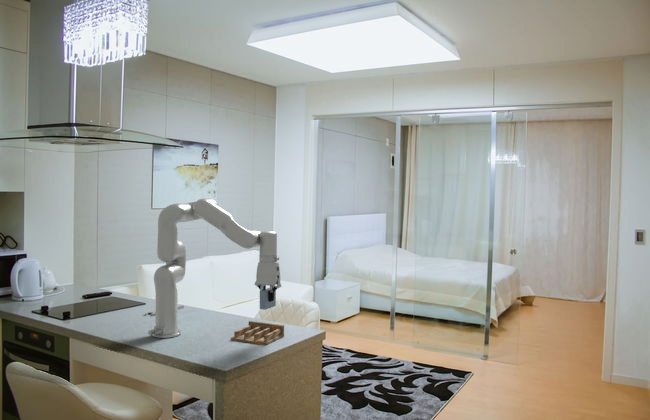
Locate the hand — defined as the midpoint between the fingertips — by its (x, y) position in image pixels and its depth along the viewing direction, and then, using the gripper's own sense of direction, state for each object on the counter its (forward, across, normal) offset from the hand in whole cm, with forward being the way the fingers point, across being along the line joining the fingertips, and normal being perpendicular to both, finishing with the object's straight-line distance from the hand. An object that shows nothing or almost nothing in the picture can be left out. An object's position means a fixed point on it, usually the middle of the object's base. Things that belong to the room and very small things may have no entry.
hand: (267, 300), depth 226 cm
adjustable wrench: (+18, +76, -24) cm, 81 cm away
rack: (+17, +5, 0) cm, 18 cm away
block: (+3, 0, 0) cm, 3 cm away
